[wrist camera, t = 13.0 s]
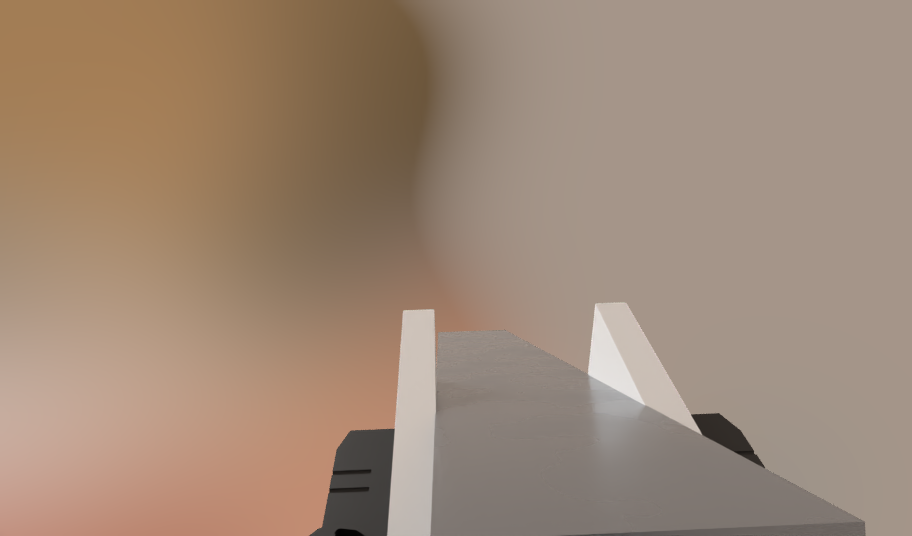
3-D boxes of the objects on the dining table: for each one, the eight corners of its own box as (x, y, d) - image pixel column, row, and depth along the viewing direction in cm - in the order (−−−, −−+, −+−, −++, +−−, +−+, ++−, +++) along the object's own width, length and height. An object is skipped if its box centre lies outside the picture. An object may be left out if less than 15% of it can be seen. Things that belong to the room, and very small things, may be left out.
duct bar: (893, 978, 5) (865, 522, 5) (444, 1009, 5) (430, 541, 5) (507, 397, 35) (505, 330, 35) (440, 400, 35) (438, 332, 35)
